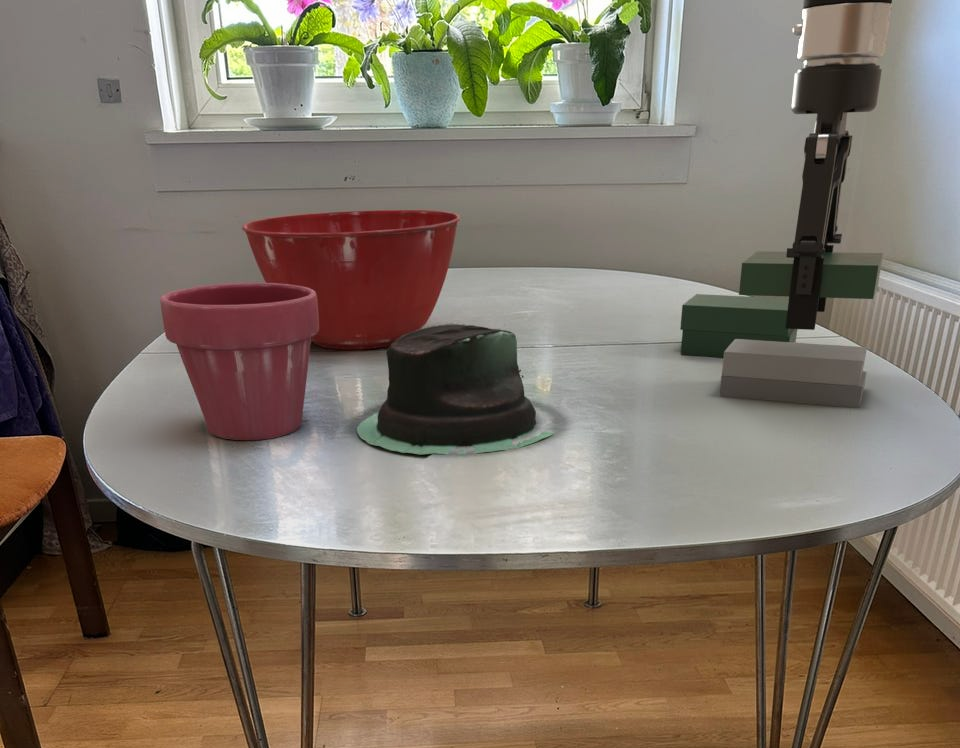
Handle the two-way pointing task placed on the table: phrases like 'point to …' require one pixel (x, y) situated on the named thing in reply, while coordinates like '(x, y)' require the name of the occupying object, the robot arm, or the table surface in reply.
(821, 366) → the grey pile
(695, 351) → the green pile
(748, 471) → the table surface
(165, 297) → the flower pot
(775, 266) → the green book
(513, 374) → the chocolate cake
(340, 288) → the mixing bowl
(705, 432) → the table surface
